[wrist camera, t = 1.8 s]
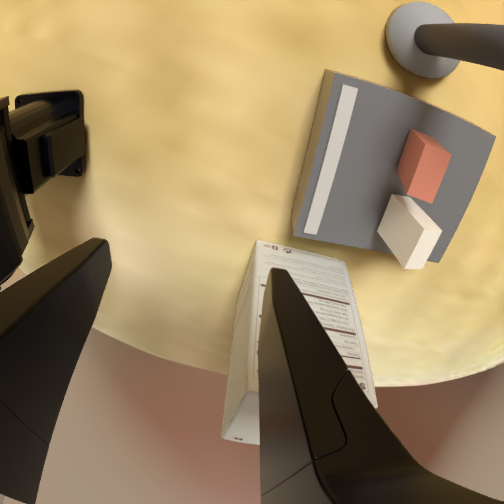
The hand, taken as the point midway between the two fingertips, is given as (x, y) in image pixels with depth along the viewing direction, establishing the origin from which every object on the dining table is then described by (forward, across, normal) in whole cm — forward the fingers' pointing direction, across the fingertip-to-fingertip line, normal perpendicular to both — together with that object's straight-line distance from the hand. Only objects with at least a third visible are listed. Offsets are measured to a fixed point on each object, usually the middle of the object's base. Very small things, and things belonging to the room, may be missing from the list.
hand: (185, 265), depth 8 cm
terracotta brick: (+10, -10, -2) cm, 14 cm away
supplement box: (+13, -6, +11) cm, 18 cm away
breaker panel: (+13, -10, 0) cm, 16 cm away
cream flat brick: (+10, -10, +2) cm, 14 cm away
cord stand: (+13, -10, -9) cm, 19 cm away
